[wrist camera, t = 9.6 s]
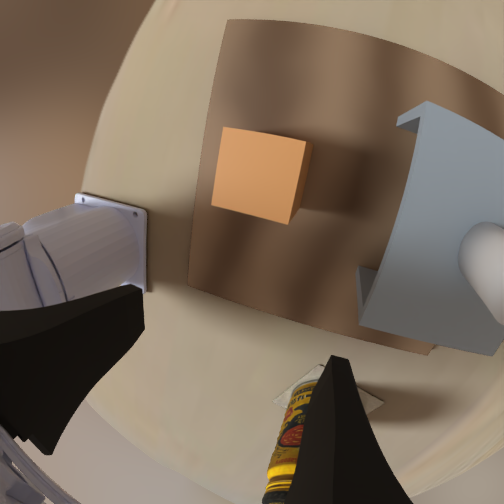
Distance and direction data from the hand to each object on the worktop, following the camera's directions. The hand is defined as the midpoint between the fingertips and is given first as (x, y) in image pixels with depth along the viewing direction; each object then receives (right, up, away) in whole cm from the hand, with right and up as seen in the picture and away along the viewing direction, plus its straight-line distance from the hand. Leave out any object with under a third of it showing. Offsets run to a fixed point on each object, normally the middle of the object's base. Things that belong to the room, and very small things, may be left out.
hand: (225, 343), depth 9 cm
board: (+7, +7, +6) cm, 12 cm away
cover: (+13, +5, +4) cm, 14 cm away
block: (+2, +8, +7) cm, 11 cm away
